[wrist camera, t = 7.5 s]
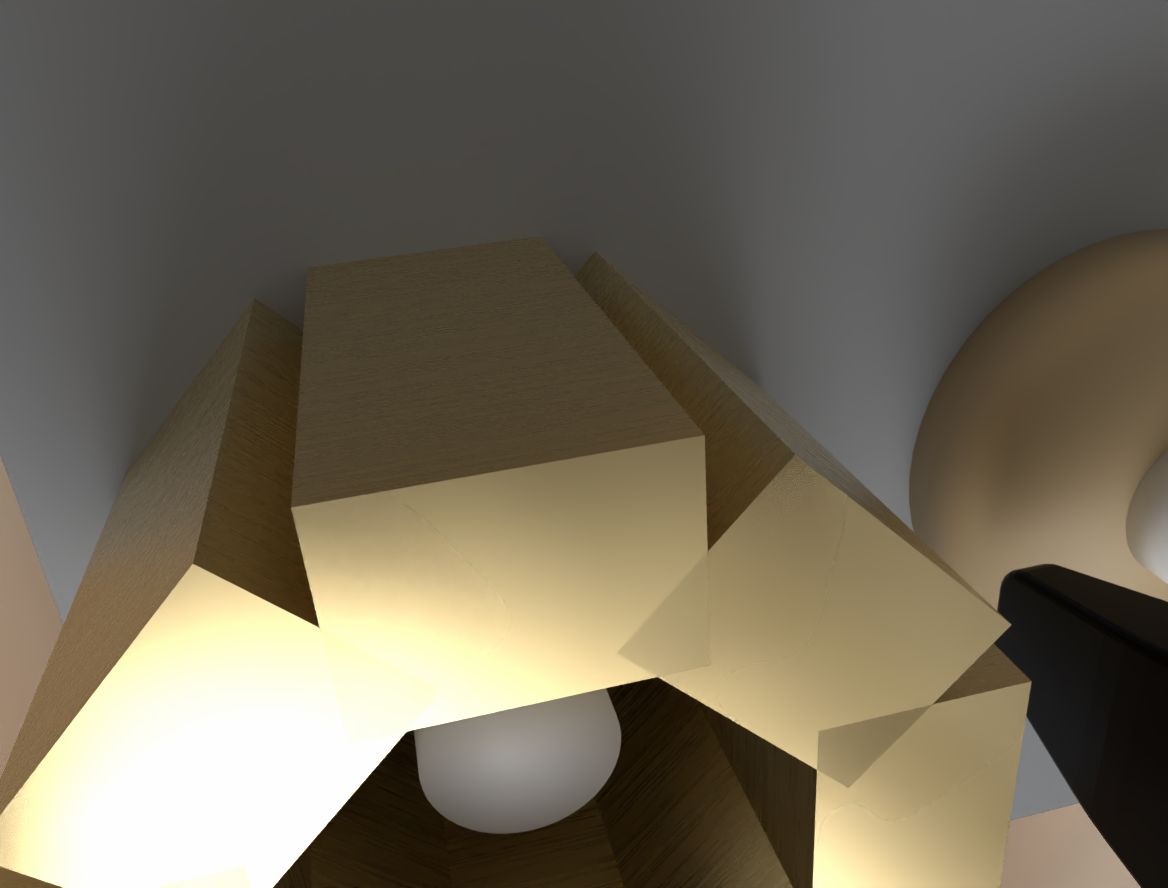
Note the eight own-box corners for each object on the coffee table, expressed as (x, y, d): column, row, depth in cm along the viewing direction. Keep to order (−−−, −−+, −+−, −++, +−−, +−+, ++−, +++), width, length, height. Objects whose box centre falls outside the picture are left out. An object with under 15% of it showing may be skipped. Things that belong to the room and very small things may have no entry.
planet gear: (765, 205, 9) (1079, 370, 6) (762, 727, 12) (969, 1082, 8) (42, 302, 8) (-216, 597, 4) (223, 851, 11) (167, 1329, 7)
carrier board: (1418, -158, 11) (1966, -226, 7) (1193, 717, 16) (1442, 930, 12) (-130, -51, 8) (-500, -74, 4) (219, 955, 13) (179, 1311, 10)
